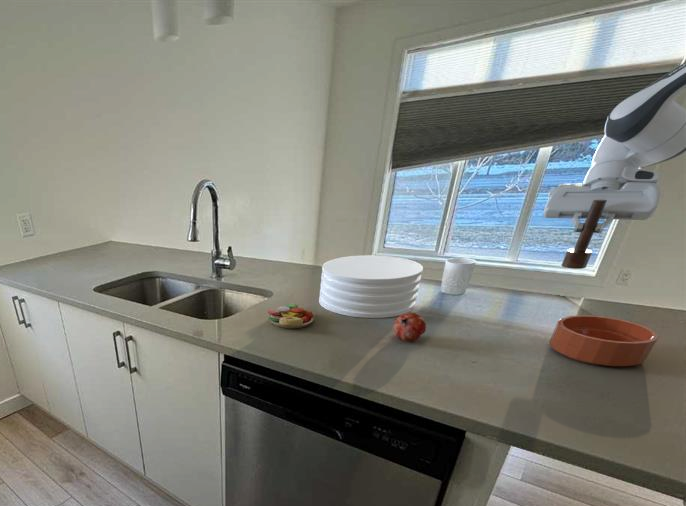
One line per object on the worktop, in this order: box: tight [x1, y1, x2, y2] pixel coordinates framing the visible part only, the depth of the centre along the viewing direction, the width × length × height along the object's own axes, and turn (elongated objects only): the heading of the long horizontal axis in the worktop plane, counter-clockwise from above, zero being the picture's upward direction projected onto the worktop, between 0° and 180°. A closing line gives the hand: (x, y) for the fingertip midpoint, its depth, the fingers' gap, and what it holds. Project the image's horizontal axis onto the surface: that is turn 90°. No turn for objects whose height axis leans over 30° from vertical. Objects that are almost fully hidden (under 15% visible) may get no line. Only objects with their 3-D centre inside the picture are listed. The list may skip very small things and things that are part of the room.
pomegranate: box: [392, 311, 427, 343], centre depth 103 cm, size 7×7×10 cm
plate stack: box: [318, 254, 424, 319], centre depth 126 cm, size 28×28×12 cm
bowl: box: [549, 314, 660, 367], centre depth 89 cm, size 16×16×6 cm
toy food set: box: [267, 303, 315, 329], centre depth 120 cm, size 13×13×3 cm
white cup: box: [440, 257, 477, 296], centre depth 128 cm, size 8×8×10 cm
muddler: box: [561, 200, 607, 270], centre depth 102 cm, size 5×5×16 cm
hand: (587, 231), depth 101 cm, fingers closed on muddler, 2 cm apart
